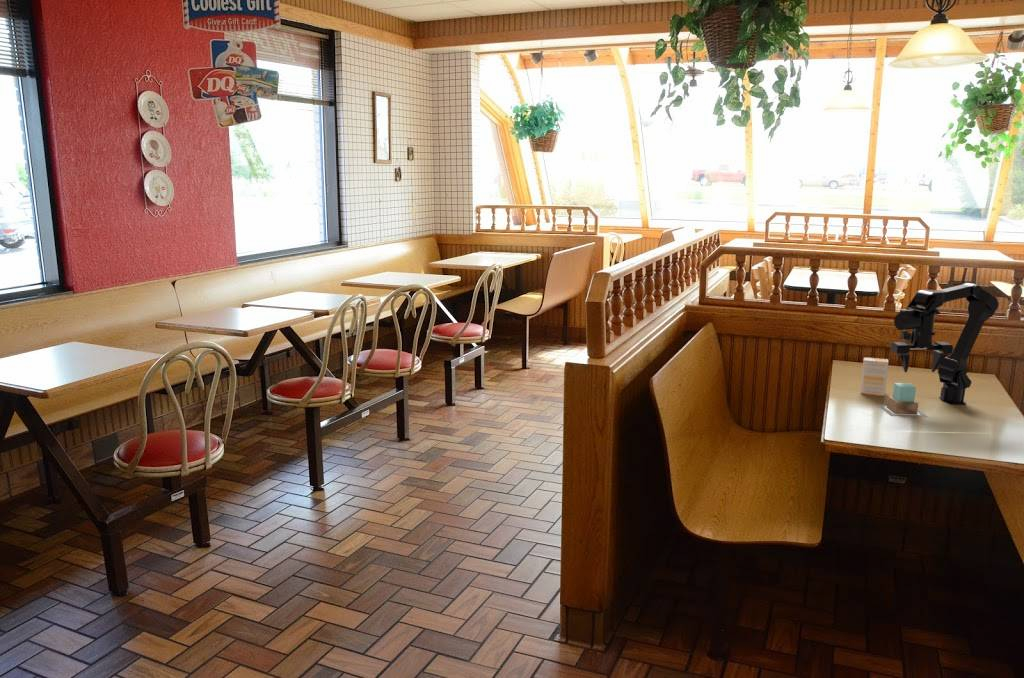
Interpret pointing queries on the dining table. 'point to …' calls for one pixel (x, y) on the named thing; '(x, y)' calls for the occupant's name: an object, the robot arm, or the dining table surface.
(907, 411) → the walnut block
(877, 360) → the supplement box
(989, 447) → the dining table surface
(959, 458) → the dining table surface
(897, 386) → the teal cube
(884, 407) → the mat
